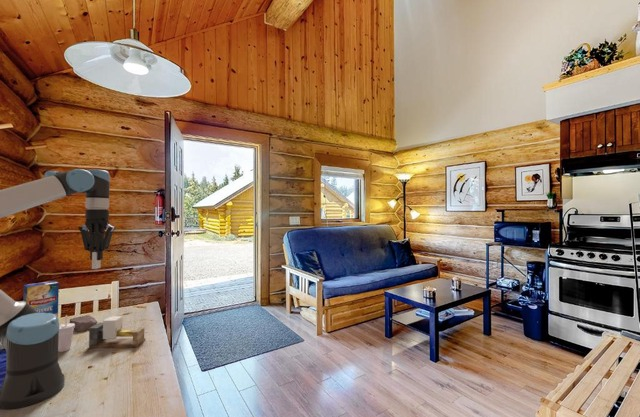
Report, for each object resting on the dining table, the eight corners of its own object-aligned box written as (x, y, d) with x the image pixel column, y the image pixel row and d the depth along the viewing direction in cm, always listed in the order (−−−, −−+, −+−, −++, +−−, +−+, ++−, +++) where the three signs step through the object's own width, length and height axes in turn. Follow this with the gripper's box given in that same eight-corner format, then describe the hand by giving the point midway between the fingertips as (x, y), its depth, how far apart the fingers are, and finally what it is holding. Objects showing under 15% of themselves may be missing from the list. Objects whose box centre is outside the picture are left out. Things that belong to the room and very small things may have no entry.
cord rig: (145, 340, 130) (145, 322, 130) (136, 347, 123) (136, 328, 123) (99, 340, 129) (100, 322, 129) (88, 347, 122) (88, 328, 122)
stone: (77, 333, 136) (77, 323, 136) (67, 328, 142) (67, 318, 142) (100, 326, 144) (100, 317, 144) (89, 322, 150) (89, 313, 150)
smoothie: (62, 354, 116) (63, 318, 116) (49, 352, 117) (50, 317, 118) (78, 346, 122) (79, 313, 123) (66, 345, 124) (67, 312, 124)
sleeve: (122, 334, 128) (122, 316, 128) (115, 339, 123) (115, 320, 123) (110, 334, 128) (110, 316, 128) (102, 339, 123) (103, 320, 123)
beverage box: (57, 328, 141) (59, 282, 141) (26, 336, 132) (27, 287, 132) (53, 325, 145) (54, 280, 145) (22, 332, 136) (23, 285, 136)
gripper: (120, 209, 120) (119, 266, 120) (87, 208, 120) (86, 266, 119) (108, 209, 113) (106, 270, 112) (72, 208, 112) (71, 270, 112)
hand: (96, 268), depth 116 cm, fingers closed
